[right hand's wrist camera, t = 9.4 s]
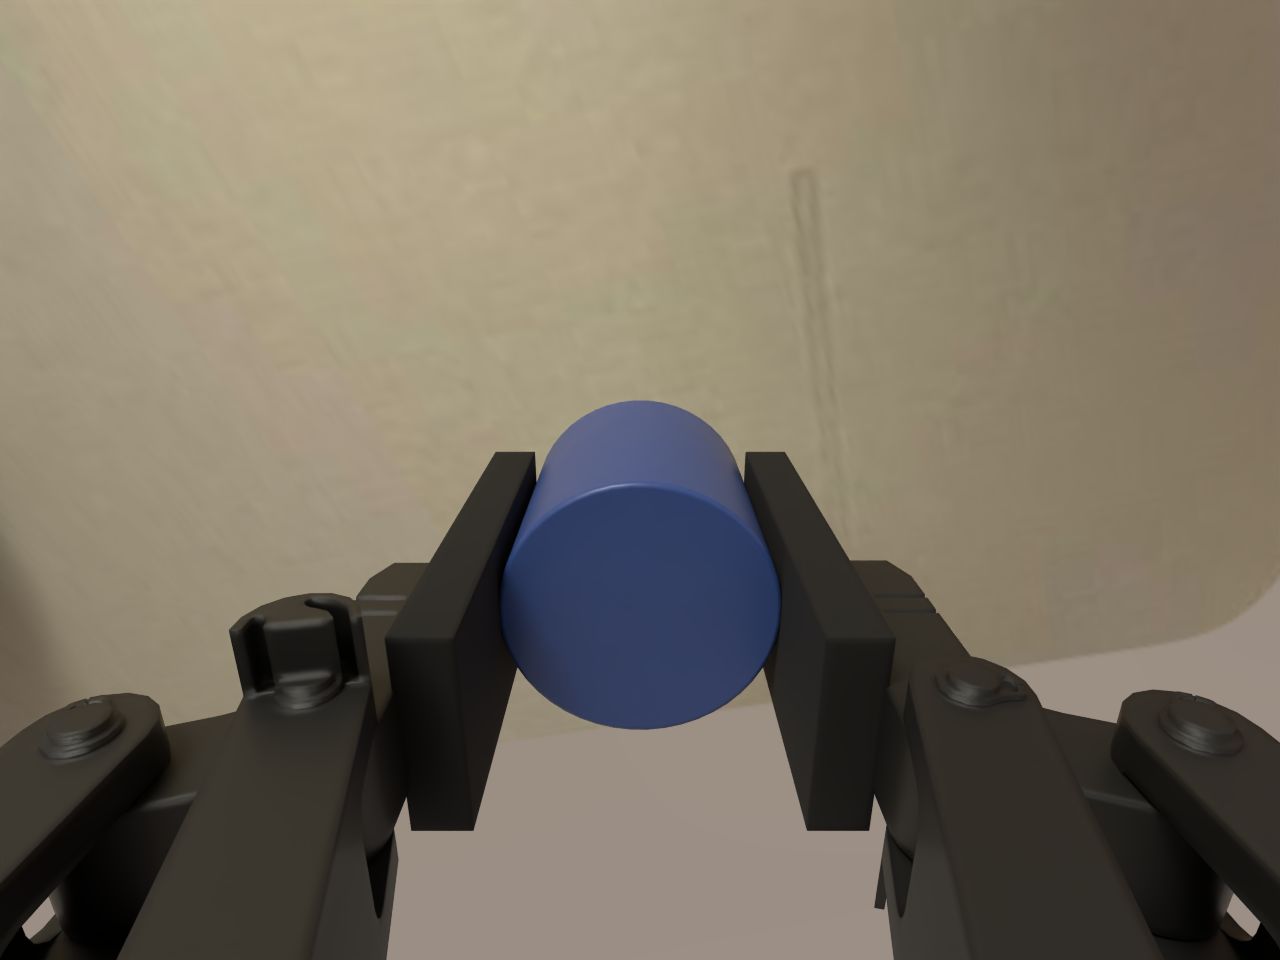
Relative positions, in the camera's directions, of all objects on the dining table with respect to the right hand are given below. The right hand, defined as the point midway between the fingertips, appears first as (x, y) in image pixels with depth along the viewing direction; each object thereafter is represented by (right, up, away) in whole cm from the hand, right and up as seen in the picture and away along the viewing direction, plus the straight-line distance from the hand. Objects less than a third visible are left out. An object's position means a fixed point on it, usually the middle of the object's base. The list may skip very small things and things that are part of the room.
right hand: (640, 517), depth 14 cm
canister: (0, 0, 0) cm, 0 cm away
